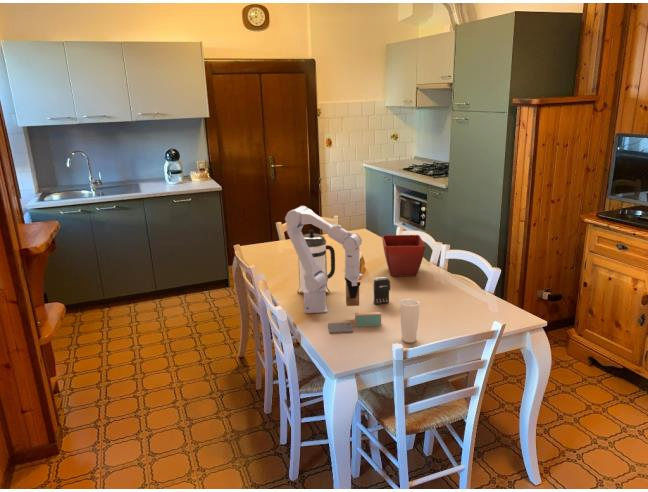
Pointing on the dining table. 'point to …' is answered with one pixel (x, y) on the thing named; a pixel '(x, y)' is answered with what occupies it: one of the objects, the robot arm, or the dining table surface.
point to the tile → (368, 319)
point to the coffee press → (317, 257)
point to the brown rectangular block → (352, 301)
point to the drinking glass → (409, 319)
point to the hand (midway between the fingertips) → (352, 296)
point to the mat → (340, 327)
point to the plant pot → (403, 254)
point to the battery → (381, 290)
